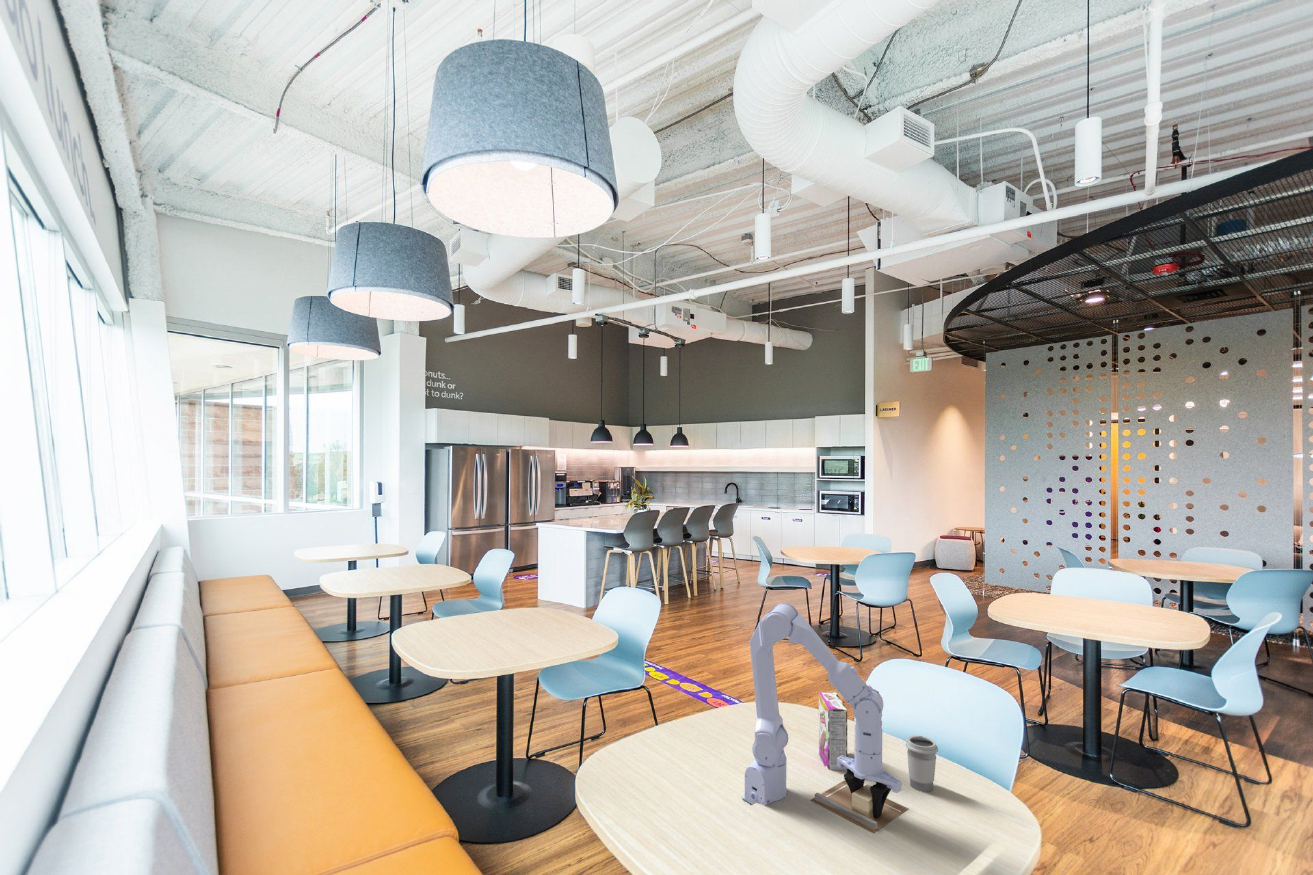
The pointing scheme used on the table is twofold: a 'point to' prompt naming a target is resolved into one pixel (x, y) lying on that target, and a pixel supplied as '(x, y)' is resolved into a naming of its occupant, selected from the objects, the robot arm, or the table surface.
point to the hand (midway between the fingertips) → (867, 811)
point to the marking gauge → (863, 802)
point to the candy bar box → (832, 729)
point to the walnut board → (841, 804)
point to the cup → (921, 762)
